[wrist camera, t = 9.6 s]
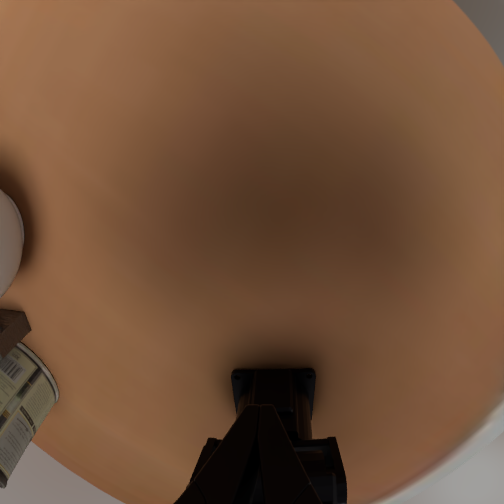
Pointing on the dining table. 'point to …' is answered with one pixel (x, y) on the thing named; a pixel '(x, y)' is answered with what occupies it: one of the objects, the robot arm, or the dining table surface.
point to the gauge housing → (12, 330)
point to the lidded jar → (9, 241)
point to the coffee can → (22, 404)
